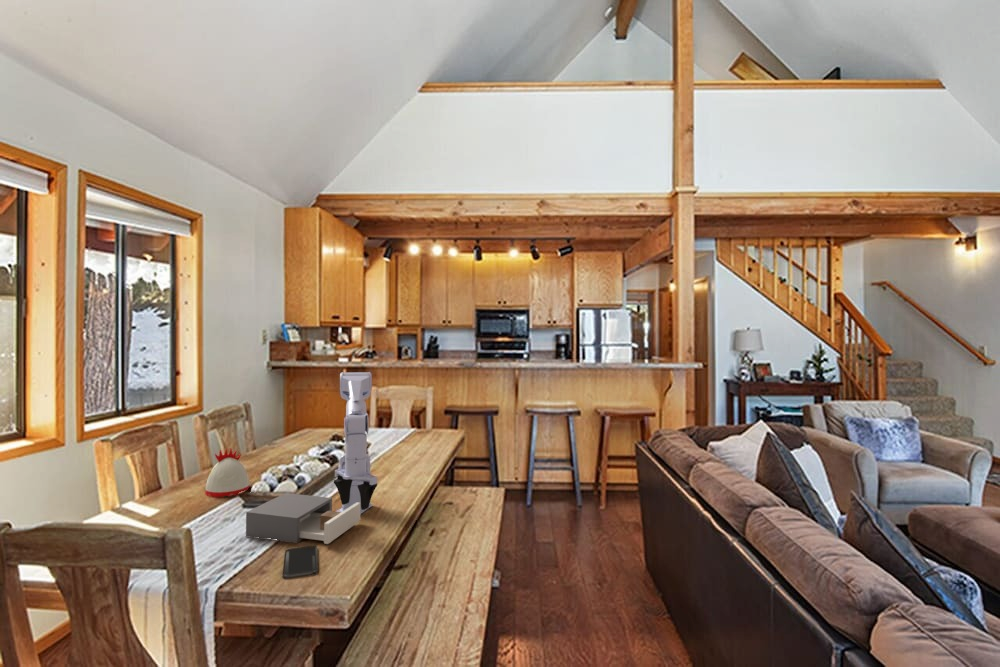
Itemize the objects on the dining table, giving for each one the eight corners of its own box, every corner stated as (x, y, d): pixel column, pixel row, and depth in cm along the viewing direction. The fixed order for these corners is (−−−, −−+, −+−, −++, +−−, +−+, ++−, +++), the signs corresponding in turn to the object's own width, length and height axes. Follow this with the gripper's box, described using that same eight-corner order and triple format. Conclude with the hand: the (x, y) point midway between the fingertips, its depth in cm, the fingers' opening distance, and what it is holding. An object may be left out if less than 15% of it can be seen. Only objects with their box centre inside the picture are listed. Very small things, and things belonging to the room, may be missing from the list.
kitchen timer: (205, 487, 182) (206, 446, 181) (248, 482, 188) (249, 442, 188) (205, 499, 169) (205, 454, 169) (250, 493, 176) (251, 450, 176)
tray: (360, 520, 151) (360, 502, 151) (328, 544, 134) (328, 523, 134) (312, 515, 155) (313, 497, 155) (275, 537, 138) (276, 517, 138)
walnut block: (340, 525, 145) (340, 512, 145) (332, 531, 141) (333, 517, 141) (328, 524, 146) (328, 510, 146) (320, 529, 142) (320, 515, 142)
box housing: (331, 520, 153) (332, 497, 153) (296, 543, 137) (297, 518, 137) (285, 514, 157) (285, 493, 157) (245, 536, 140) (246, 512, 140)
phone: (282, 576, 117) (285, 549, 131) (282, 581, 117) (285, 553, 131) (318, 571, 120) (317, 545, 134) (318, 575, 120) (317, 549, 134)
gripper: (326, 456, 142) (325, 505, 142) (364, 464, 135) (363, 515, 135) (345, 451, 148) (345, 498, 148) (382, 459, 141) (382, 507, 141)
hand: (355, 506), depth 142 cm, fingers open, 7 cm apart
